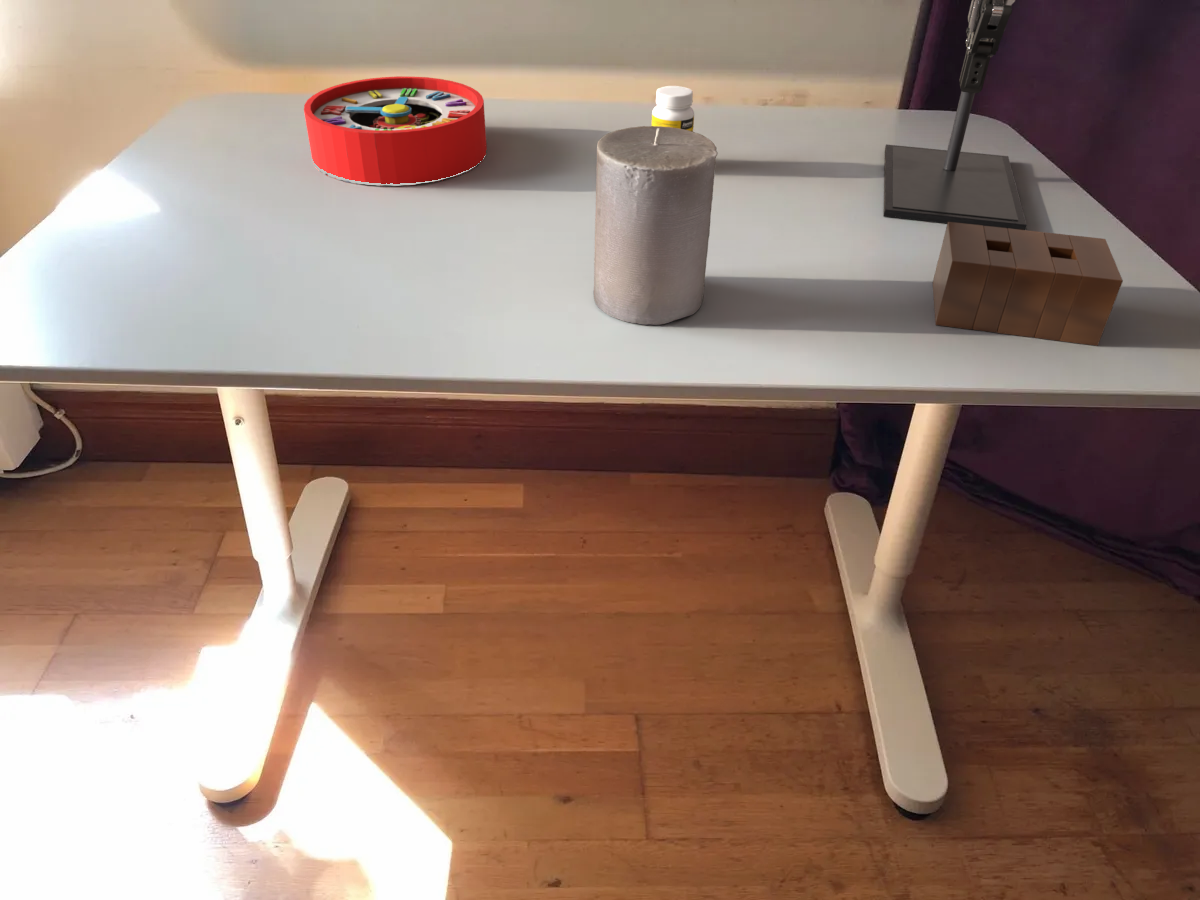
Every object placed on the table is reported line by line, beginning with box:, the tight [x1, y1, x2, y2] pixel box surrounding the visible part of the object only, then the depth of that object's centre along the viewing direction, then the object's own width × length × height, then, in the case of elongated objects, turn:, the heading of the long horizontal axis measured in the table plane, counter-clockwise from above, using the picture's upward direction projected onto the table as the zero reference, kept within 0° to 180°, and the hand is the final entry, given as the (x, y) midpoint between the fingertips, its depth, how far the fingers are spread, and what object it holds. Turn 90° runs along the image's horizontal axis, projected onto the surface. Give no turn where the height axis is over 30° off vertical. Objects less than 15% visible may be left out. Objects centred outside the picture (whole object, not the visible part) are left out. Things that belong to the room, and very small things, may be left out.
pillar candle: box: [593, 125, 719, 326], centre depth 79 cm, size 10×10×15 cm
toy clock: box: [303, 75, 488, 184], centre depth 109 cm, size 20×6×20 cm
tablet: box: [882, 144, 1028, 230], centre depth 105 cm, size 14×20×1 cm
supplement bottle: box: [650, 85, 695, 132], centre depth 107 cm, size 5×5×8 cm
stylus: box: [943, 38, 988, 171], centre depth 103 cm, size 1×1×14 cm
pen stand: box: [932, 222, 1124, 347], centre depth 81 cm, size 13×8×6 cm, turn 76°
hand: (969, 88), depth 102 cm, fingers closed on stylus, 1 cm apart
